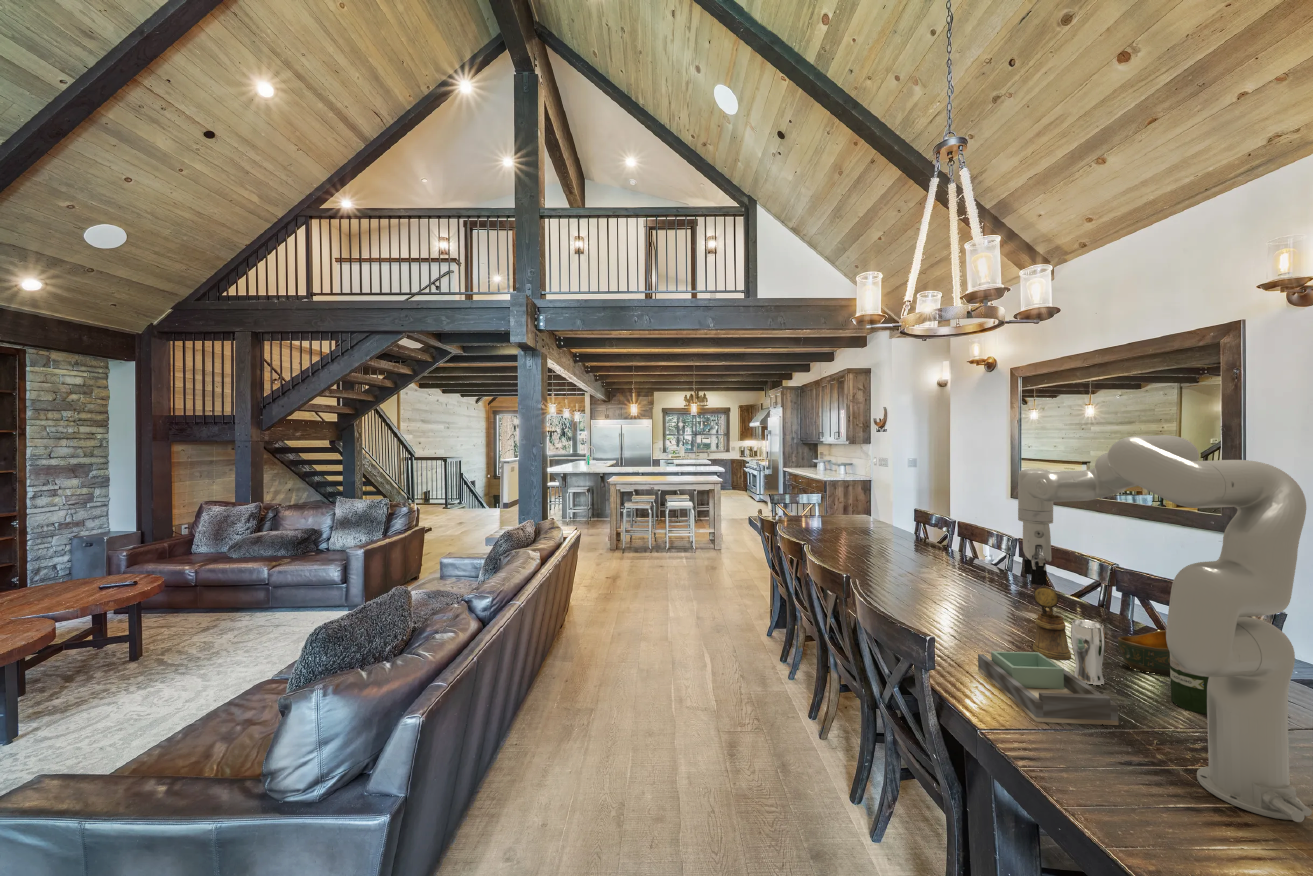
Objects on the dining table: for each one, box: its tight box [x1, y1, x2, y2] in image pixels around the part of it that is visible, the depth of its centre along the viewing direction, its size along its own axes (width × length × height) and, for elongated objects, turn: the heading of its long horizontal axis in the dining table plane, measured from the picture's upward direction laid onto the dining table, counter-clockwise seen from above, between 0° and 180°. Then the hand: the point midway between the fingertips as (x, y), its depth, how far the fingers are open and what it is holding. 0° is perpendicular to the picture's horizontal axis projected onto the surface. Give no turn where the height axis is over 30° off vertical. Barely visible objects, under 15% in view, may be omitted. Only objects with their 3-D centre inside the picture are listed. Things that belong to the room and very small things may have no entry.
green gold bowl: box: [1117, 630, 1170, 676], centre depth 140 cm, size 13×20×10 cm, turn 60°
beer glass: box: [1070, 618, 1106, 686], centre depth 135 cm, size 7×7×15 cm
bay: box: [977, 653, 1119, 726], centre depth 128 cm, size 26×17×6 cm, turn 173°
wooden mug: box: [1032, 585, 1072, 661], centre depth 153 cm, size 9×14×18 cm, turn 151°
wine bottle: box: [1169, 654, 1209, 715], centre depth 121 cm, size 8×8×30 cm
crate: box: [990, 650, 1064, 689], centre depth 134 cm, size 10×12×5 cm
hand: (1035, 579), depth 136 cm, fingers open, 9 cm apart
